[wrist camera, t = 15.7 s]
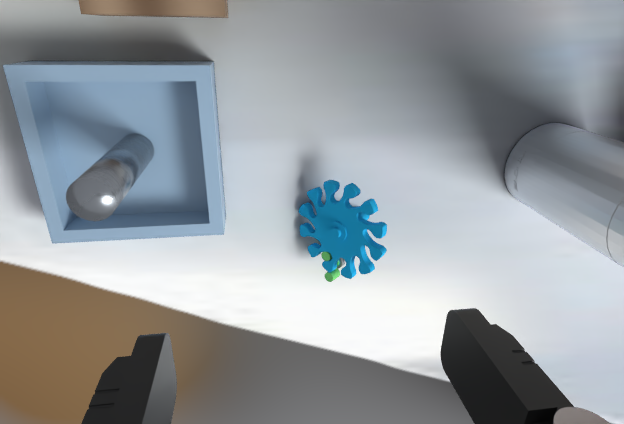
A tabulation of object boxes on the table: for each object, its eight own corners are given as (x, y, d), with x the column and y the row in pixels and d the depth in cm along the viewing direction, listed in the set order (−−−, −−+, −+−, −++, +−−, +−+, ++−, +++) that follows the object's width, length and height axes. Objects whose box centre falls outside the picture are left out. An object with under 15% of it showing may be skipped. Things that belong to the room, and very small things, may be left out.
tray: (213, 61, 36) (209, 65, 33) (225, 216, 42) (223, 234, 39) (28, 60, 34) (2, 64, 30) (69, 223, 40) (52, 243, 37)
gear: (305, 165, 40) (395, 213, 35) (339, 154, 44) (423, 196, 40) (284, 256, 45) (359, 307, 41) (317, 238, 49) (387, 283, 45)
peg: (151, 133, 37) (111, 177, 26) (156, 165, 38) (119, 220, 27) (116, 133, 36) (60, 178, 26) (122, 166, 38) (71, 222, 27)
